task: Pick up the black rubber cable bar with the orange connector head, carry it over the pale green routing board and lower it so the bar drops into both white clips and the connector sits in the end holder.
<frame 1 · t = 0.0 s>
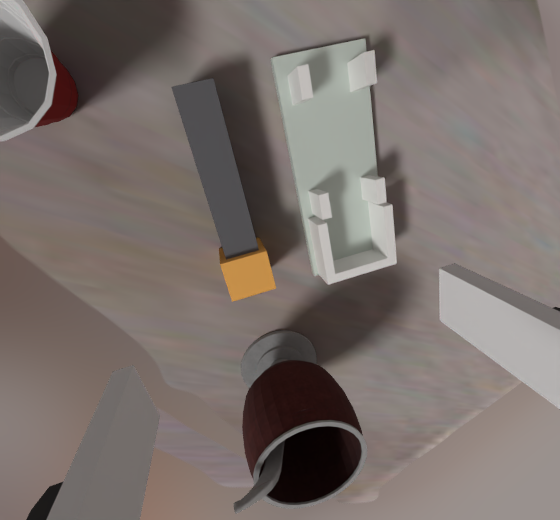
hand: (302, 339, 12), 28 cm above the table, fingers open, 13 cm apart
mate gourd: (274, 362, 48), on the table
plastic cup: (49, 88, 30), on the table
cable bar: (219, 174, 36), on the table
route board: (334, 170, 39), on the table
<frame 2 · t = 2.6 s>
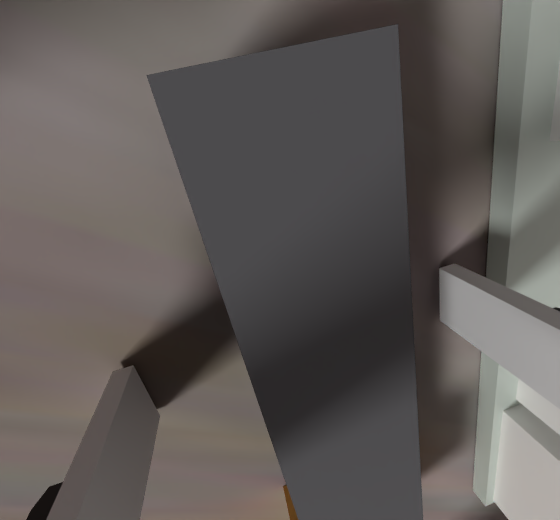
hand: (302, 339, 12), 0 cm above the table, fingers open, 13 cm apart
cable bar: (300, 334, 13), on the table
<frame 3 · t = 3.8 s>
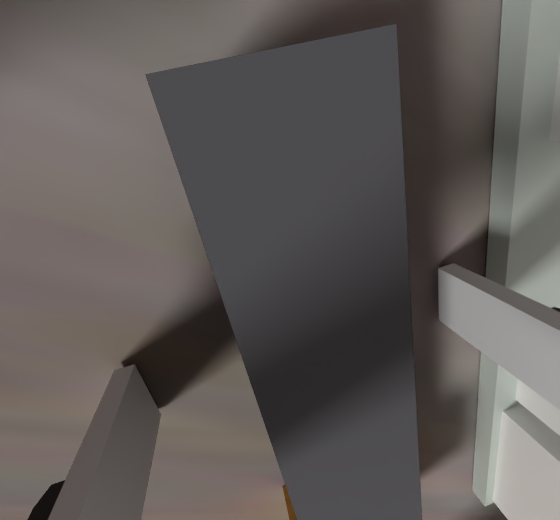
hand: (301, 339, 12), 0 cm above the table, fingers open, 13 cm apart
cable bar: (299, 333, 13), on the table
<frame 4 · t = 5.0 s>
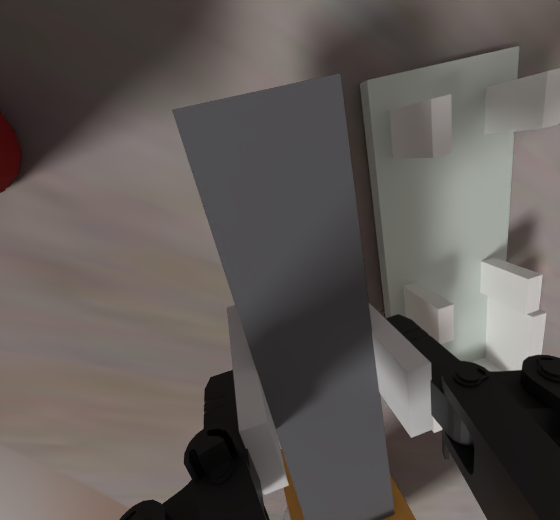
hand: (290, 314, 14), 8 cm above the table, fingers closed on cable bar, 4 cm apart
cable bar: (288, 312, 15), point 8 cm above the table, touching gripper
route board: (440, 251, 25), on the table
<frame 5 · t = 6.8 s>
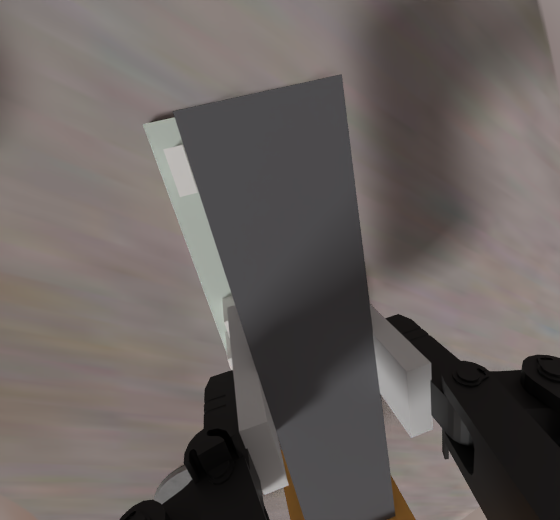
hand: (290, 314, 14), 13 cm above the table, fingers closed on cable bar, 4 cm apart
mate gourd: (200, 493, 37), on the table
cable bar: (288, 313, 15), point 13 cm above the table, touching gripper
route board: (260, 266, 28), on the table
when the fingers open (2 cm above the table, at t = 9.0 s): cable bar stays where it is, resting on route board.
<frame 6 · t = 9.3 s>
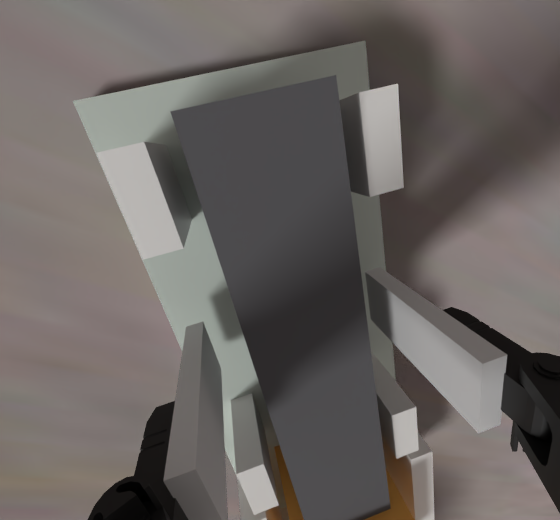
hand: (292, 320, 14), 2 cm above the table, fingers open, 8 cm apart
cable bar: (286, 309, 15), point 1 cm above the table, touching route board
route board: (293, 343, 17), on the table
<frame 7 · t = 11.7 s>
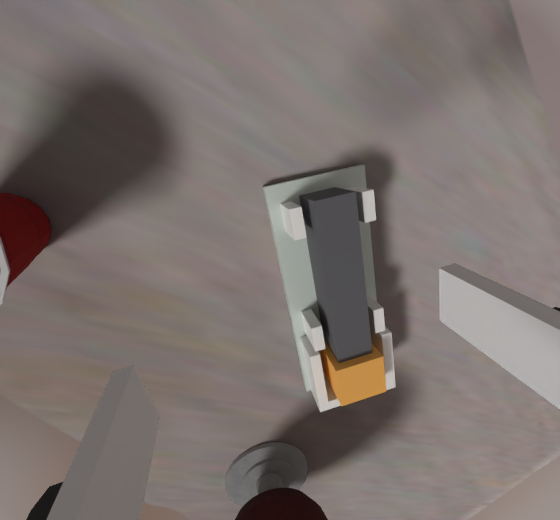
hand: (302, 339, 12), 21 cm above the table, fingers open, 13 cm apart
mate gourd: (261, 473, 44), on the table
plastic cup: (19, 223, 28), on the table
cable bar: (328, 268, 34), point 1 cm above the table, touching route board
route board: (329, 287, 36), on the table
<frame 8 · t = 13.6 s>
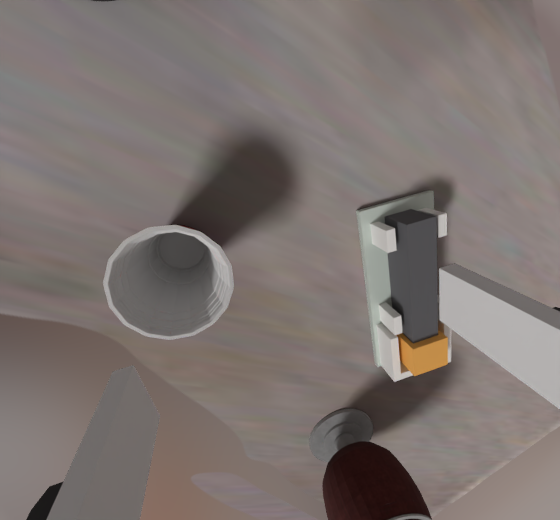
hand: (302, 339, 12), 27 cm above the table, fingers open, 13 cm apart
mate gourd: (336, 434, 55), on the table
plastic cup: (184, 246, 37), on the table
cable bar: (401, 271, 44), point 1 cm above the table, touching route board
route board: (399, 285, 46), on the table
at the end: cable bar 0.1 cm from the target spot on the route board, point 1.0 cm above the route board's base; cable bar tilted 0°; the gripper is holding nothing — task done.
